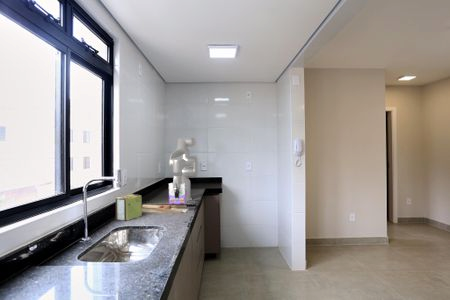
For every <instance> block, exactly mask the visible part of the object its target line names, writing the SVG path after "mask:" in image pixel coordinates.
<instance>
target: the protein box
mask: <svg viewBox="0 0 450 300" xmlns="http://www.w3.org/2000/svg"><path fill="white" fill-rule="evenodd" d="M142 205H143V203H142V195H140V194H128V195H127V194H125V195H122V196H119V197H115V220H117V221H123V220H125V221H126V220H128V221H130V220H129V219H131V220H134V219H136V218H139V217H142V216H143V215H142V214H143V212H142ZM133 218H134V219H133ZM126 222H127V221H126Z"/></svg>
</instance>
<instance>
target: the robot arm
mask: <svg viewBox="0 0 450 300" xmlns="http://www.w3.org/2000/svg"><path fill="white" fill-rule="evenodd" d="M196 145H197V140H196V138H195V137H189V136H188V137H186V136H185V137H179V138H177V145H176V149H175V150H174V151H173V152H172V153H170V156H169V160H168V166H169V167H170V168H172V177H173V179H172V180H173V181H172V183H173V189H174V191H175V198H179V193H178V189H179V186H180V183H187V202H188V201H189V202H190V201H192V200H193V198H192V197H191V180H190V179H189V178H196V177H197V176H198V174H199V173H198V170H199V165H198V157H197V156H196V155H191V150H190V149H189V147H190V148H191V147H195V146H196ZM179 157H180V158H179ZM187 166H188V167H187ZM176 188H178V189H176Z"/></svg>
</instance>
